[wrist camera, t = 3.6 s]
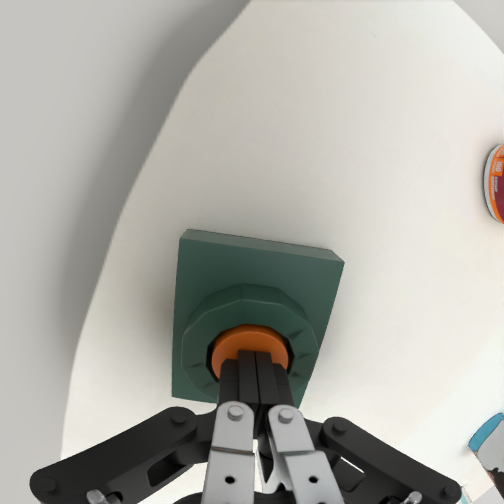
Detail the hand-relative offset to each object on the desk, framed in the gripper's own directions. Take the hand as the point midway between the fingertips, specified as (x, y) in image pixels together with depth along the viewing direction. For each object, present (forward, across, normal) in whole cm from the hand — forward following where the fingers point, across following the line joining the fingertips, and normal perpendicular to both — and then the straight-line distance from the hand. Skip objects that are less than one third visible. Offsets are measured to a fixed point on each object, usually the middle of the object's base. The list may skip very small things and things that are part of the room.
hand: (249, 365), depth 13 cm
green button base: (+4, 0, 0) cm, 4 cm away
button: (+2, 0, 0) cm, 2 cm away
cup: (+4, -37, +17) cm, 41 cm away
